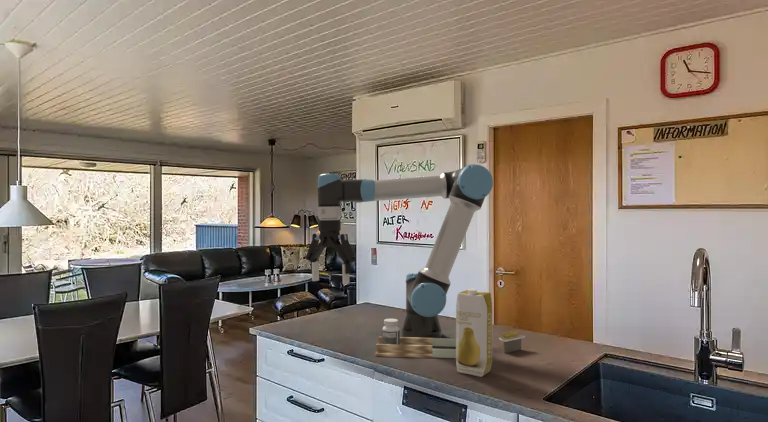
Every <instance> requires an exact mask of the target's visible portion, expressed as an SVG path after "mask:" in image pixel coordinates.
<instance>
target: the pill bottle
mask: <svg viewBox="0 0 768 422" xmlns="http://www.w3.org/2000/svg"><path fill="white" fill-rule="evenodd" d="M383 324H384V326H382V337H383V344H400V337H401V328H400V326H398V325H399V320H398V319H397V318H385V319H383Z"/></svg>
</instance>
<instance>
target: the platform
mask: <svg viewBox="0 0 768 422" xmlns="http://www.w3.org/2000/svg"><path fill="white" fill-rule="evenodd" d="M525 338H526V335H523V334H519V331H515V330H510V331H506V332H502V335H501V336H499V337H498V340H499V341H501V342H503V352H504V354H509V353H512V352H517V351H521V350H522V339H525Z"/></svg>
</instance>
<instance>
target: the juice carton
mask: <svg viewBox="0 0 768 422" xmlns="http://www.w3.org/2000/svg"><path fill="white" fill-rule="evenodd" d="M477 290H478V289H477V288H474V287H472V288H468V289H466V290H463V291H460V292H458V293H457V295H456V304H455V307H456V309H455V339H456V347H455V349H456V358H455V362H456V371H457V372H458V373H460V374H464V375H465V374H466V375H470V376H474V377H479V378H482V377H485V376H486V375H487V374H488V373H489V372H490V371H491V369H492V364H493V299H492V298H493V297H492V293H491V292H489V291H488V292H482V291H481V292H479V291H477Z"/></svg>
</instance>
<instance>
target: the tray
mask: <svg viewBox="0 0 768 422" xmlns="http://www.w3.org/2000/svg"><path fill="white" fill-rule="evenodd" d="M432 347H453V348H432V354H433V358H439V359H443V358H446V359H456V338H452V337H451V338H449V337H447V338H445V337H443V338H442V337H441V338H432ZM454 347H455V348H454Z"/></svg>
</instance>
